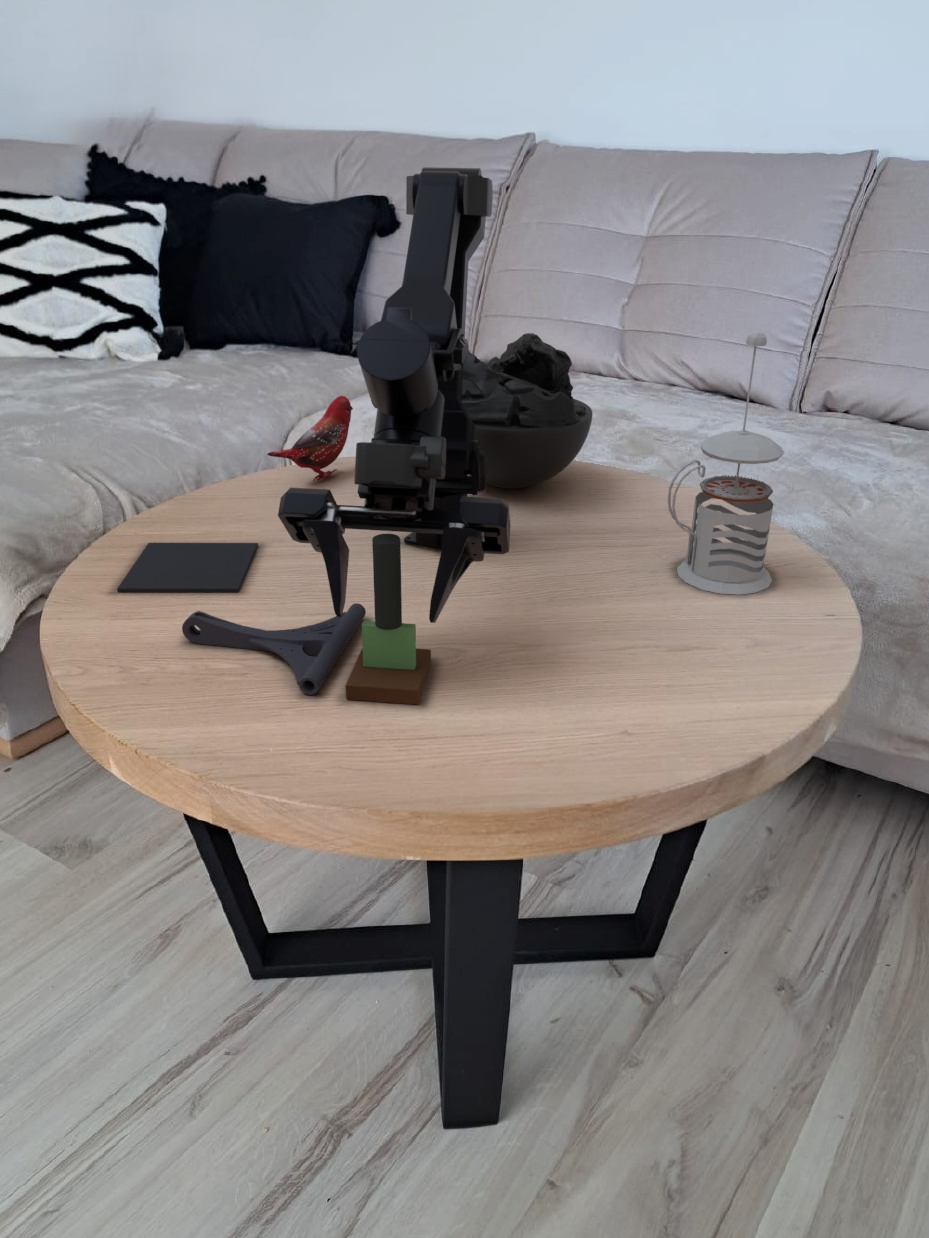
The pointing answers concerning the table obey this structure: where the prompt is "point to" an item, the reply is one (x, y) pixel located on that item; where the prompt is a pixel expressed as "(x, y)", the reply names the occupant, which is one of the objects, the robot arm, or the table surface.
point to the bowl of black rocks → (524, 412)
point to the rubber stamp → (388, 638)
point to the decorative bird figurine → (322, 440)
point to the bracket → (284, 642)
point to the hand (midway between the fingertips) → (384, 618)
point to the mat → (190, 567)
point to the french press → (730, 512)
